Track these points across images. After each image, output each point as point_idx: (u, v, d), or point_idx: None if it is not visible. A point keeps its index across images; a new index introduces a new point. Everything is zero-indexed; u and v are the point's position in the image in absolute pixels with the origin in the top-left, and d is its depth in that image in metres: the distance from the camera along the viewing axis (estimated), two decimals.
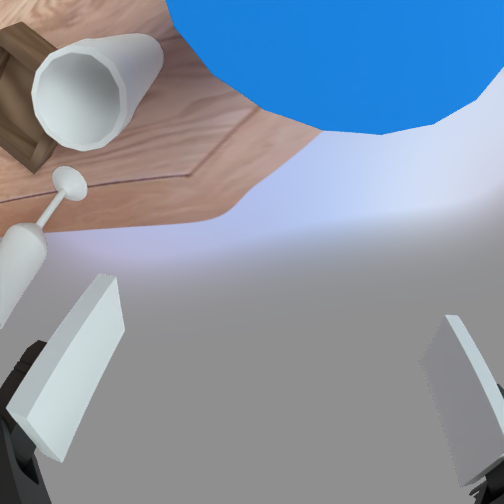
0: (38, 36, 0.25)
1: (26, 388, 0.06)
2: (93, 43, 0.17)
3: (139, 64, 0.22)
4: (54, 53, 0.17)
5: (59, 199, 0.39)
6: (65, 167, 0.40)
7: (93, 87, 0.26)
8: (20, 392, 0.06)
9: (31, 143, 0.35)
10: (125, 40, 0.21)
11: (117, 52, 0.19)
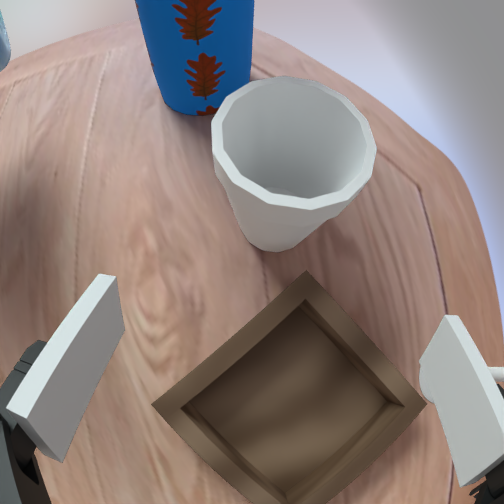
0: None
1: (26, 388, 0.06)
2: None
3: None
4: (215, 144, 0.16)
5: None
6: (421, 371, 0.26)
7: None
8: (20, 392, 0.06)
9: (376, 418, 0.23)
10: None
11: None
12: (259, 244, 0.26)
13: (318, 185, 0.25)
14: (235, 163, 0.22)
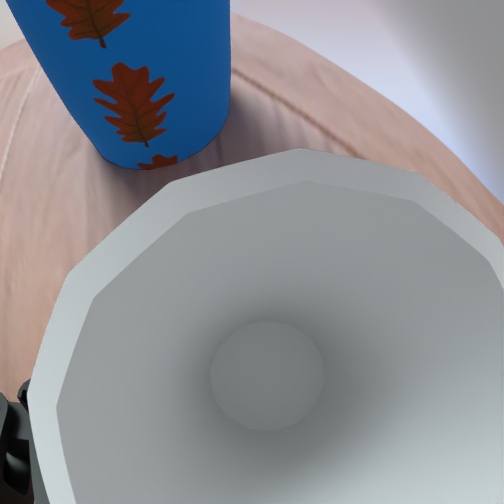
0: None
1: None
2: None
3: None
4: (52, 488, 0.03)
5: None
6: None
7: (310, 460, 0.10)
8: None
9: None
10: None
11: None
12: None
13: (355, 357, 0.12)
14: (171, 365, 0.09)
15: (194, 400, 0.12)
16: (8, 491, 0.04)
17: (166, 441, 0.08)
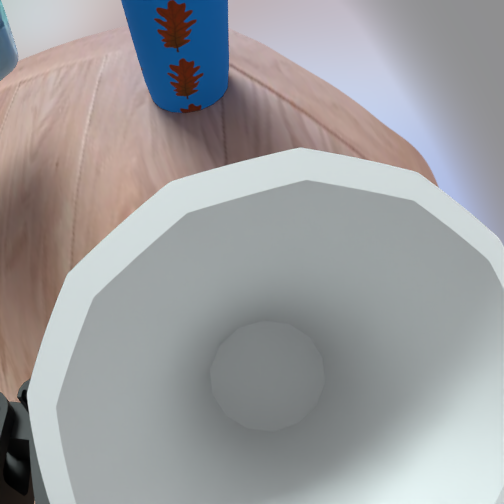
0: None
1: None
2: None
3: None
4: (52, 488, 0.03)
5: None
6: None
7: (310, 460, 0.10)
8: None
9: None
10: None
11: None
12: None
13: (355, 357, 0.12)
14: (171, 365, 0.09)
15: (194, 400, 0.12)
16: (8, 491, 0.04)
17: (166, 441, 0.08)
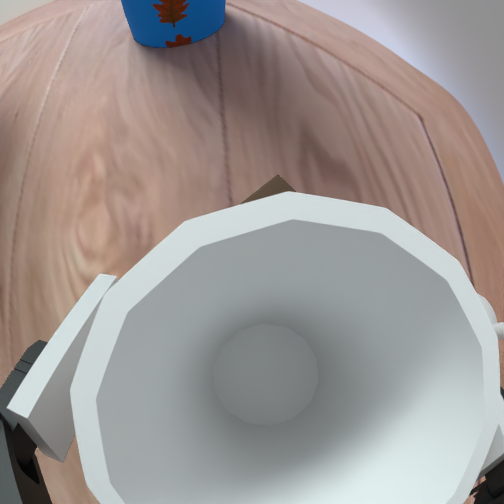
0: None
1: (27, 388, 0.06)
2: None
3: None
4: (88, 466, 0.05)
5: (503, 322, 0.16)
6: None
7: (303, 450, 0.12)
8: (21, 392, 0.06)
9: None
10: None
11: None
12: None
13: (344, 357, 0.13)
14: (180, 364, 0.10)
15: (199, 396, 0.13)
16: None
17: (176, 430, 0.09)
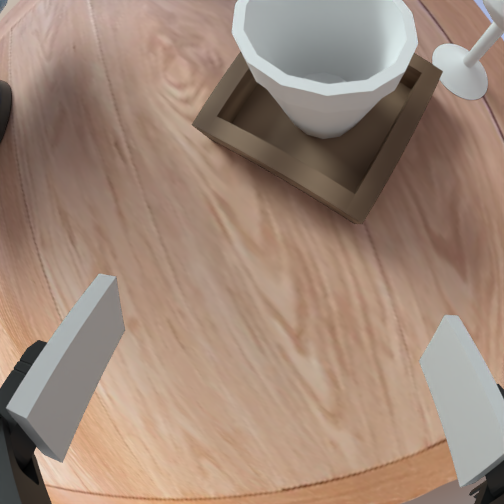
0: None
1: (26, 388, 0.06)
2: None
3: None
4: (246, 54, 0.13)
5: None
6: None
7: None
8: (20, 392, 0.06)
9: (405, 100, 0.23)
10: None
11: None
12: (319, 134, 0.23)
13: (358, 60, 0.20)
14: None
15: None
16: None
17: None
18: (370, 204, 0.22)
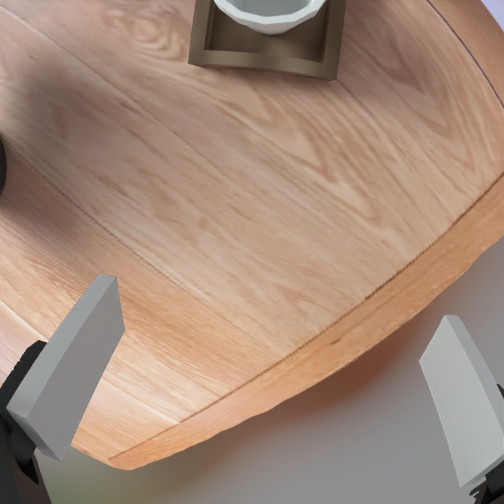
0: None
1: (26, 388, 0.06)
2: None
3: None
4: (232, 12, 0.18)
5: None
6: None
7: None
8: (20, 392, 0.06)
9: None
10: None
11: None
12: None
13: None
14: (233, 5, 0.21)
15: None
16: None
17: None
18: (335, 65, 0.27)
